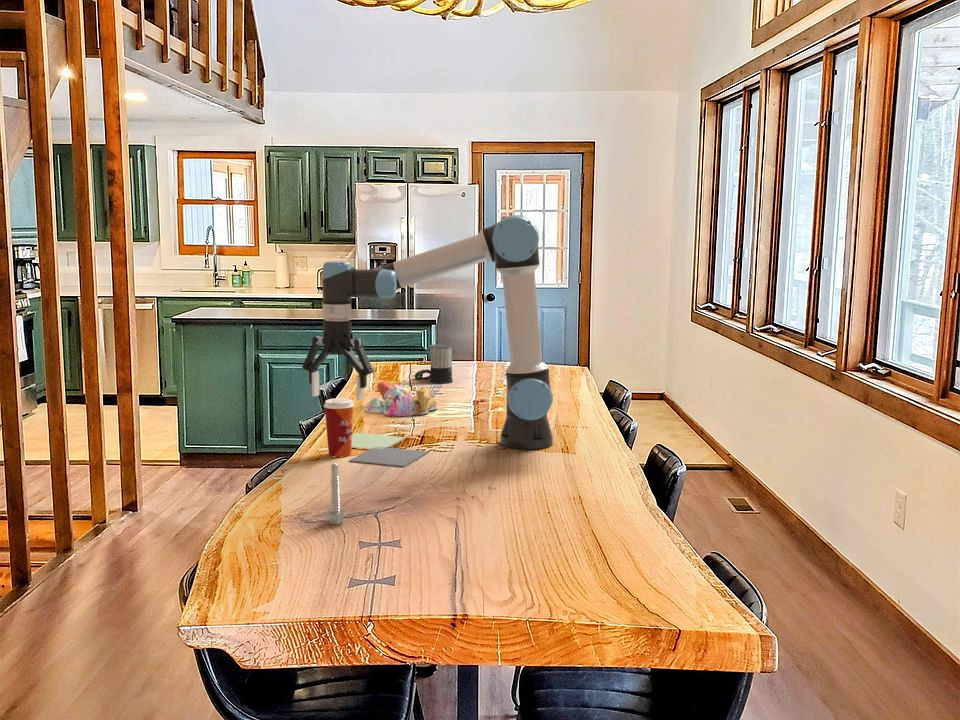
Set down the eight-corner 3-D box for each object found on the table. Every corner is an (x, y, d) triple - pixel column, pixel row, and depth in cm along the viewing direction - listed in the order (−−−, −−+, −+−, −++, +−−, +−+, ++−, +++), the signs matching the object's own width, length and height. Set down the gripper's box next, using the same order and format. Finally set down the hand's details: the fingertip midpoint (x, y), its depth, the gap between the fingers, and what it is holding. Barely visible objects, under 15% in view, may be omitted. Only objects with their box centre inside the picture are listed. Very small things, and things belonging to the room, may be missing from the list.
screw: (319, 523, 189) (336, 517, 193) (334, 528, 186) (352, 522, 190) (318, 463, 187) (335, 458, 191) (333, 467, 184) (351, 462, 188)
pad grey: (428, 452, 248) (428, 451, 248) (404, 467, 233) (404, 465, 233) (376, 447, 253) (376, 446, 253) (349, 461, 238) (349, 460, 238)
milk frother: (452, 384, 356) (452, 346, 354) (412, 383, 356) (412, 346, 354) (453, 378, 370) (453, 342, 368) (415, 377, 370) (415, 342, 368)
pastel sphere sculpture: (442, 404, 317) (442, 378, 315) (432, 418, 294) (432, 390, 292) (372, 403, 319) (371, 377, 318) (357, 417, 296) (356, 389, 295)
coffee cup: (349, 459, 241) (348, 404, 239) (320, 457, 243) (318, 402, 241) (359, 451, 249) (358, 398, 247) (331, 449, 251) (330, 397, 249)
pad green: (405, 438, 264) (405, 437, 264) (381, 451, 250) (381, 449, 249) (356, 434, 270) (356, 433, 270) (330, 446, 255) (330, 445, 255)
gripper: (289, 318, 241) (290, 396, 244) (372, 323, 233) (372, 403, 236) (303, 316, 248) (304, 391, 251) (385, 320, 240) (385, 398, 243)
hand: (337, 397), depth 244 cm, fingers open, 13 cm apart
